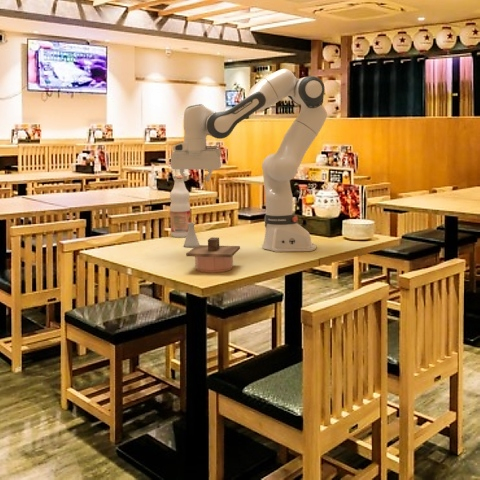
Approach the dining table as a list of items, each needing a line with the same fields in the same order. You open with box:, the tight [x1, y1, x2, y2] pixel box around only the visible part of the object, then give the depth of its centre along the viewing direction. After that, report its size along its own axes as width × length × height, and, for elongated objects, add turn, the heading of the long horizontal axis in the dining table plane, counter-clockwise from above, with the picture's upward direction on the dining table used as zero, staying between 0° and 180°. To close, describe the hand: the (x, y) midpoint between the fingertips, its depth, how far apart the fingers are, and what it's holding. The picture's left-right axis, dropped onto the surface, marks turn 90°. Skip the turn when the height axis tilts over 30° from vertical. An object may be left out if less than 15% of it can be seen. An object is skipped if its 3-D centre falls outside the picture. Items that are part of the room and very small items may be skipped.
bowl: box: [194, 255, 234, 274], centre depth 235 cm, size 13×13×6 cm
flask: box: [183, 222, 200, 248], centre depth 280 cm, size 7×7×10 cm
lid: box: [185, 236, 241, 258], centre depth 234 cm, size 16×16×5 cm
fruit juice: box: [169, 175, 192, 238], centre depth 305 cm, size 9×9×28 cm
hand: (196, 180), depth 263 cm, fingers open, 8 cm apart
